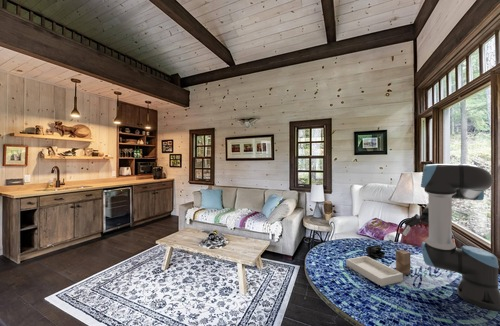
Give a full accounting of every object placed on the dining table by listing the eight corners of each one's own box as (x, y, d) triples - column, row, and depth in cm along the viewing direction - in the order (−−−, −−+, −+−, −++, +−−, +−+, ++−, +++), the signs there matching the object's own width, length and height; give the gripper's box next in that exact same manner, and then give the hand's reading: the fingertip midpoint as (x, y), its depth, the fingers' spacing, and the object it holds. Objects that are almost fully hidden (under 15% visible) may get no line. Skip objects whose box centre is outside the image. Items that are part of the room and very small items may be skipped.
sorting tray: (402, 281, 116) (402, 273, 116) (381, 286, 110) (380, 278, 110) (366, 261, 138) (366, 255, 138) (346, 265, 133) (346, 259, 133)
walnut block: (410, 273, 124) (410, 252, 124) (404, 274, 122) (404, 253, 122) (402, 269, 129) (401, 249, 129) (396, 270, 127) (395, 250, 127)
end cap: (376, 252, 153) (376, 243, 153) (385, 256, 146) (385, 247, 146) (365, 255, 149) (365, 245, 149) (374, 259, 142) (374, 249, 142)
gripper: (459, 220, 123) (442, 249, 118) (414, 211, 147) (398, 235, 142) (453, 212, 121) (436, 241, 117) (408, 204, 145) (392, 228, 140)
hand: (415, 238), depth 129 cm, fingers open, 13 cm apart
